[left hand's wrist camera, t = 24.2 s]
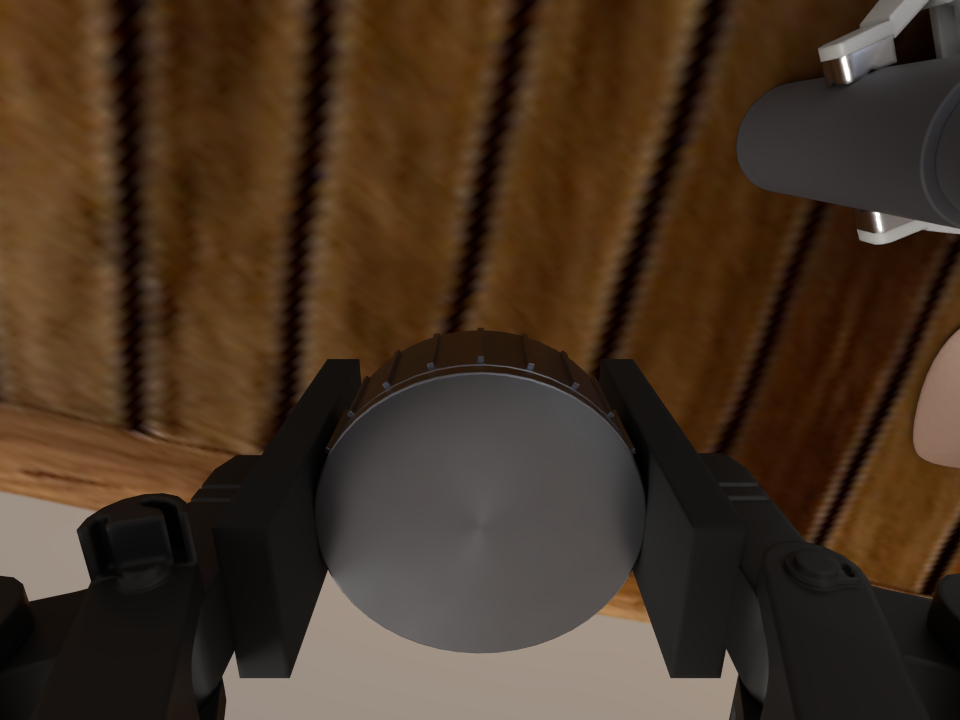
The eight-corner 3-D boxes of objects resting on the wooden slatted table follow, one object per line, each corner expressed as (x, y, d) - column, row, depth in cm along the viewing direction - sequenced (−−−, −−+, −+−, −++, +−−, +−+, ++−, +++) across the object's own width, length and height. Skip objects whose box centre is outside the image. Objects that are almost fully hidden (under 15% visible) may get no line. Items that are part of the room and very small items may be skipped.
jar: (799, 57, 28) (1130, -21, 14) (860, 136, 29) (1222, 139, 15) (714, 141, 29) (936, 148, 15) (776, 212, 30) (1035, 282, 16)
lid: (589, 590, 14) (609, 671, 11) (329, 559, 13) (301, 637, 11) (654, 349, 12) (692, 396, 9) (346, 306, 11) (316, 344, 9)
